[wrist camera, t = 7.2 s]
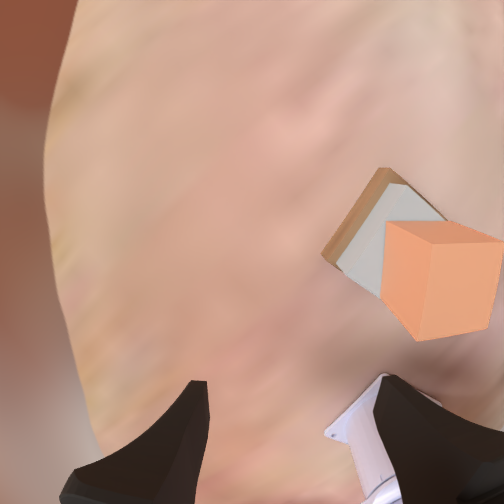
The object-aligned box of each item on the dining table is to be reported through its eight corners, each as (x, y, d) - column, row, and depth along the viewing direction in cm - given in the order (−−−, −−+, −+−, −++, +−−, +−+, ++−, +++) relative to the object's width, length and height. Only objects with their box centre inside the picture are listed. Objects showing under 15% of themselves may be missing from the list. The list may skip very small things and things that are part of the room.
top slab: (449, 237, 19) (469, 245, 16) (400, 308, 20) (416, 324, 18) (389, 183, 18) (407, 185, 16) (335, 262, 19) (346, 275, 17)
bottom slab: (441, 225, 21) (459, 231, 19) (389, 300, 23) (402, 314, 20) (375, 167, 20) (389, 167, 18) (319, 251, 22) (326, 261, 19)
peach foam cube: (450, 221, 16) (504, 242, 11) (441, 291, 17) (487, 328, 12) (385, 220, 16) (432, 244, 11) (379, 297, 17) (416, 341, 12)
